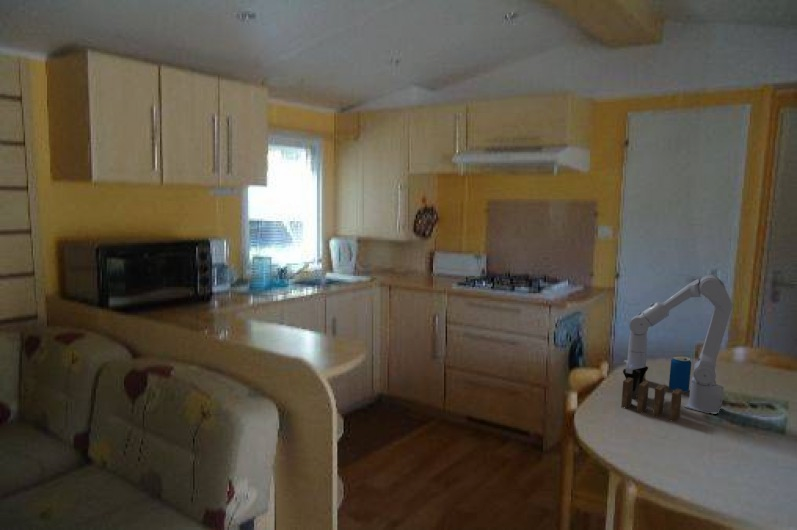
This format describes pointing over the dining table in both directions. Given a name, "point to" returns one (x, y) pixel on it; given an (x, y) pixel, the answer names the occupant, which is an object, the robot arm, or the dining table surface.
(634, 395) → the domino
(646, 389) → the domino
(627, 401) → the domino
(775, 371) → the dining table surface
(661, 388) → the domino
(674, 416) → the domino
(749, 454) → the dining table surface
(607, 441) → the dining table surface
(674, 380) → the beverage can
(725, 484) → the dining table surface
